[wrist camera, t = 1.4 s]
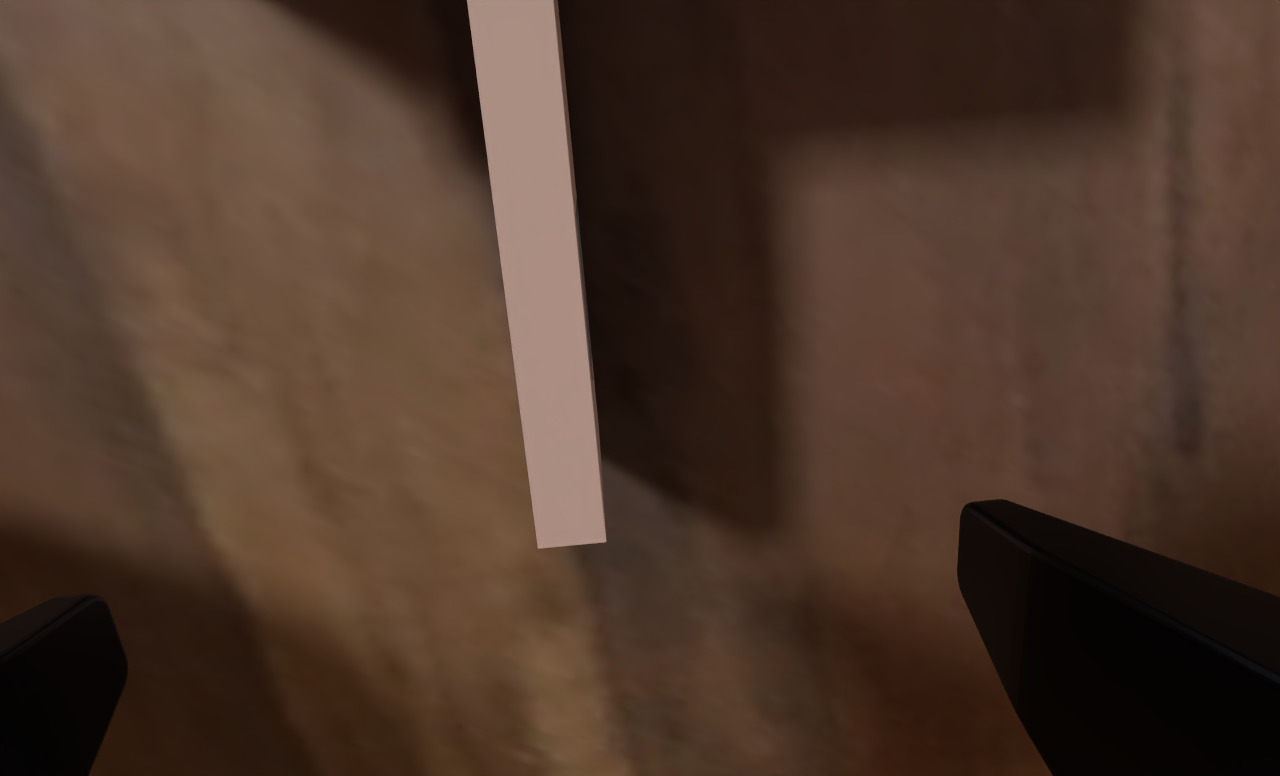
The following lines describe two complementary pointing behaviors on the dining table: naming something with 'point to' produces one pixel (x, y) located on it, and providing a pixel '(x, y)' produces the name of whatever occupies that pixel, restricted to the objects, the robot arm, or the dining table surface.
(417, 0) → the dining table surface
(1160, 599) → the robot arm
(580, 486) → the pink plank
